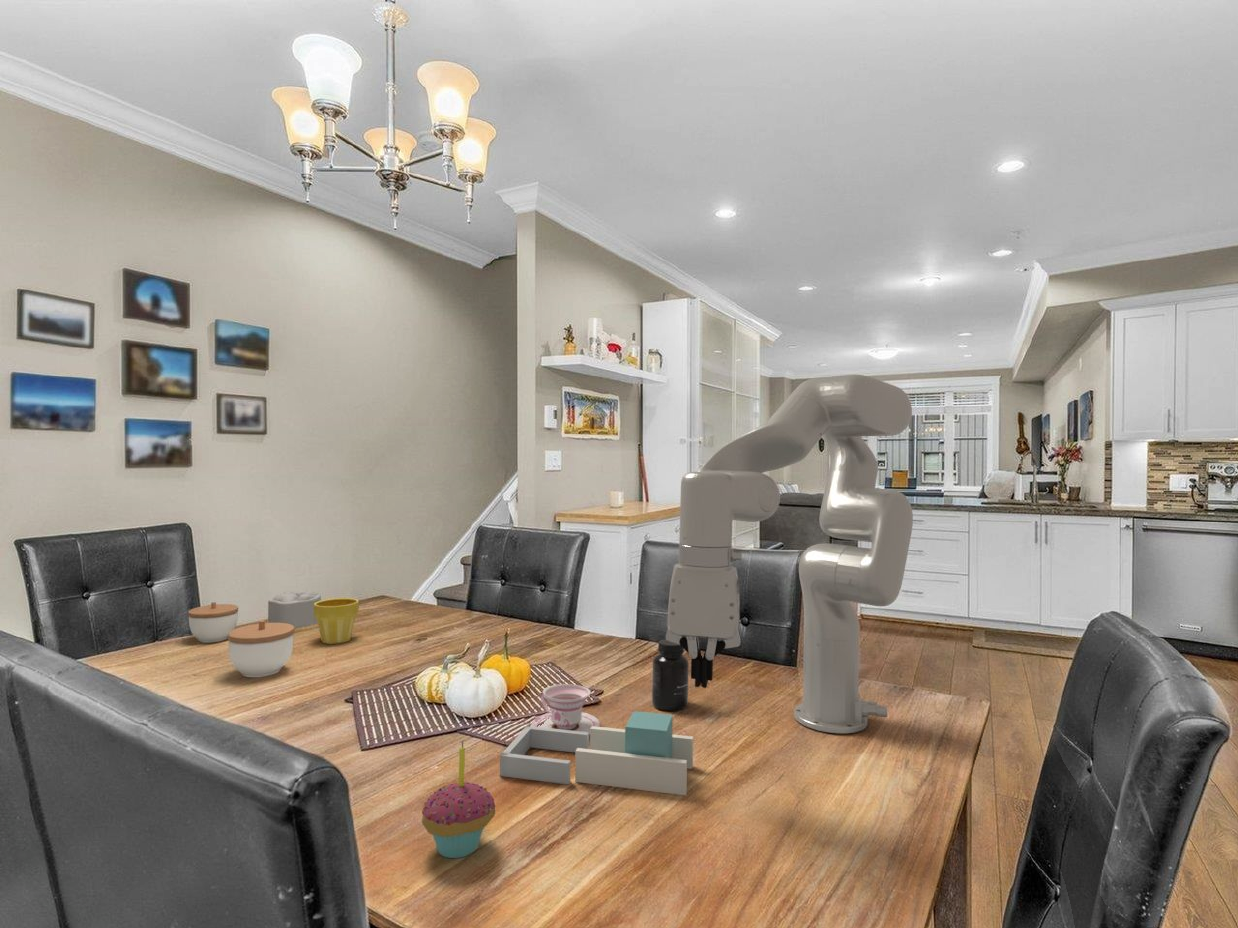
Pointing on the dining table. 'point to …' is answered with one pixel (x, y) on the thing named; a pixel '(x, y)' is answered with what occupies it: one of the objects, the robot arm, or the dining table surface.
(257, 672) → the lidded bowl
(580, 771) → the channel
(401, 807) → the dining table surface
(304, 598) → the grey lumpy-topped box
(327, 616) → the plant pot
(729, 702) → the dining table surface
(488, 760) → the dining table surface
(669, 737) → the block
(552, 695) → the teacup
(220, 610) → the lidded jar
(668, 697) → the supplement bottle
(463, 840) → the cupcake
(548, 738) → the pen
